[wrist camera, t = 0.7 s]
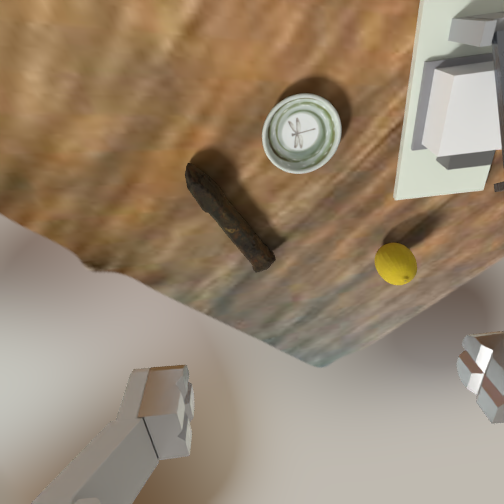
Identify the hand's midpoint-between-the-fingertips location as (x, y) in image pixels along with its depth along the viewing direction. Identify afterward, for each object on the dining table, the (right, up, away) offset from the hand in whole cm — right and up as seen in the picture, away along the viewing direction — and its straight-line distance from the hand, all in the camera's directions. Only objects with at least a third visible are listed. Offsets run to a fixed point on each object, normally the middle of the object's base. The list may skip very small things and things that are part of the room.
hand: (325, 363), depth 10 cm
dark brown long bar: (-6, +9, +41) cm, 42 cm away
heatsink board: (+23, +21, +32) cm, 45 cm away
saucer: (+4, +19, +34) cm, 39 cm away
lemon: (+19, +4, +45) cm, 49 cm away
